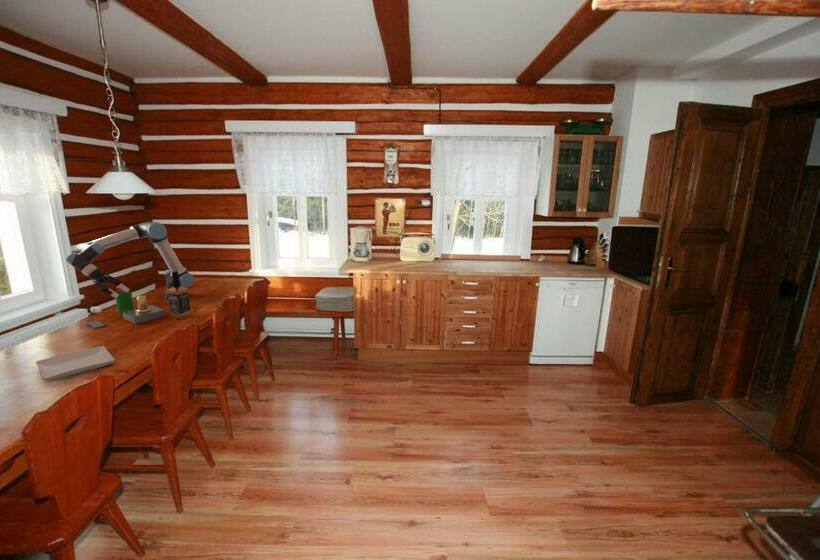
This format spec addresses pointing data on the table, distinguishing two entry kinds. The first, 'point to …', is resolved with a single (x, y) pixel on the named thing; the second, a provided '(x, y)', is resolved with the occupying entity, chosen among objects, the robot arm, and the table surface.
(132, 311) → the plate
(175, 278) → the whiskey bottle
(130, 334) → the table surface
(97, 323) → the charcoal mat
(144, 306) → the brass flanged peg
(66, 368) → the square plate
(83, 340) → the table surface
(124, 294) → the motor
